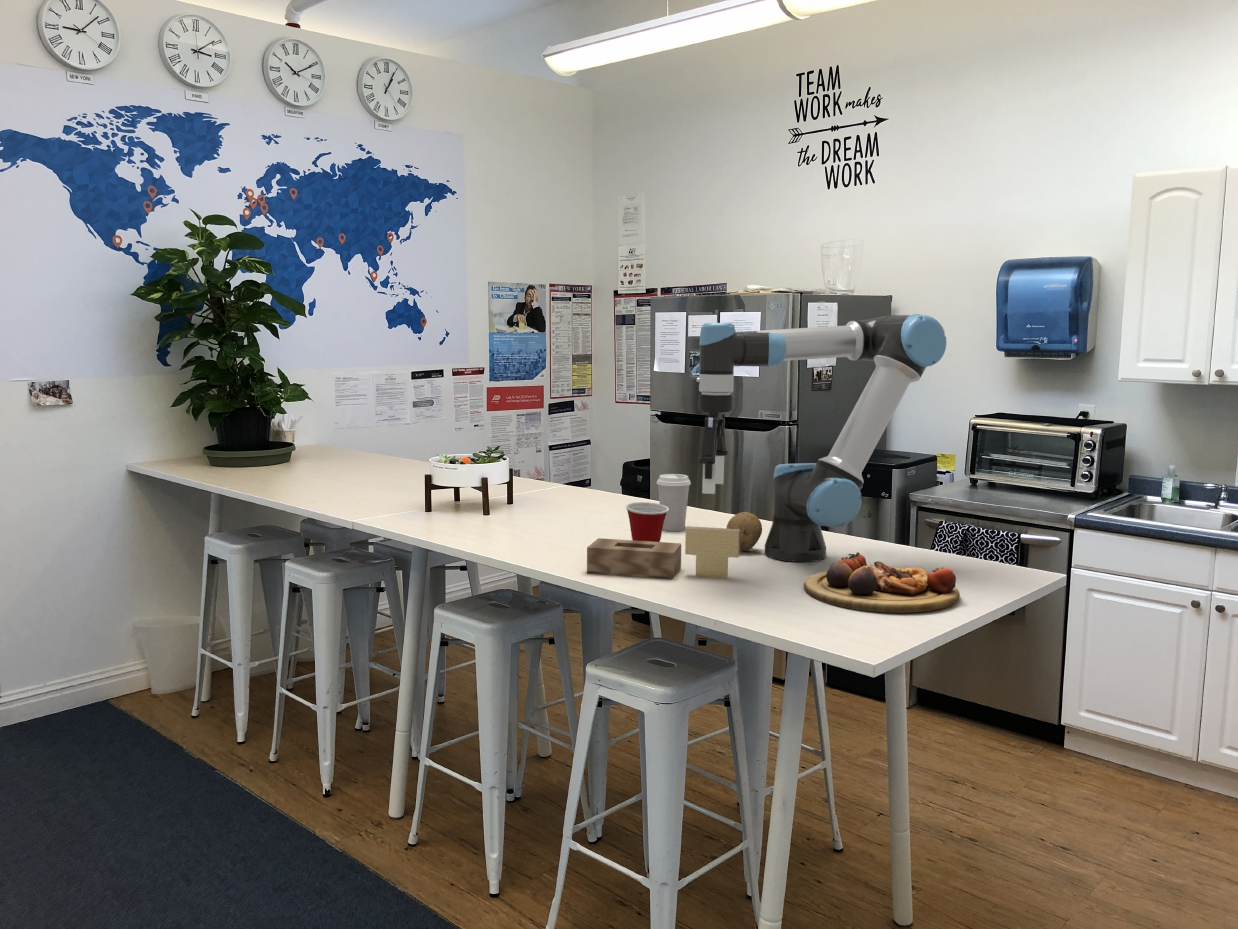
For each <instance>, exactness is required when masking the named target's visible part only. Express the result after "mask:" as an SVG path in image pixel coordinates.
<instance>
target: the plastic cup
mask: <svg viewBox="0 0 1238 929" xmlns="http://www.w3.org/2000/svg"><path fill="white" fill-rule="evenodd" d="M625 509H626V511H627V515H628V520H629V525H630V526H629V529H630V533H631V534H630V535H631V540H635V541H651V542H661V539H662V534H663V530H662V529H663V524H664V520H665V516H666V514H667V512H668V511H669V508H668V507H667V506H664V505H661V504H660V503H657V502H649V501H646V502H645V501H637V502H631V503H630V502H629V503H626V504H625Z"/></svg>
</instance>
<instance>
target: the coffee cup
mask: <svg viewBox="0 0 1238 929" xmlns="http://www.w3.org/2000/svg"><path fill="white" fill-rule="evenodd" d="M656 485H657V487H658V499H659V500H658V501H659V503H658V504H661V505H664V506H667V507H668V508H669V511H668V512H667V514H666V516H665V520H664V524H663V529H662V531H664V532H683V531H685V530H686V519H687V508H688V499H689V490H690V485H692V483H691V480H690V478H689V475H687V474H682V473H681V474H679V473H665V474H660V475H659V477H658V479H657V480H656Z"/></svg>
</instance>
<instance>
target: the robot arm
mask: <svg viewBox="0 0 1238 929" xmlns="http://www.w3.org/2000/svg"><path fill="white" fill-rule="evenodd" d="M945 333H946V332H945V329H944V327H943V326H942V324H941V323H940V322H939V321H938V320H937V319H936V318H934V317H933V316H929V315H926V314H925V315H924V314H919V313H913V314H910V315H909V314H908V315H907V314H906V315H905V314H893V315H892V314H891V315H889V314H888V315H883V316H878V317H873V318H868V319H861V320H850V321H848V322H847V323H846V325H834V326H832V325H830V326H818V327H817V326H816V327H815V326H813V327H799V328H782V329H780V328H779V329H767V330H765V329H763V330H750V331H749V330H748V331H744V330H743V331H736V326H735V324H734V323H732V322H731V323H730V322H727V323H726V322H706V323H705V322H704V323H703V324H702V325H701V328H700V332H699V372H698V373H699V375H698V376H699V377H697V378H696V382H697V383H699V384H698V391H699V392H700V393H701V394H699V395H698V404H697V405H698V408H697V409H698V411H700V412H705V413H706V412H707V417H705V418H704V430H703V443H702V450H701V451H702V452H701V458H700V459H699V464H702V491H701V493H702V494H706V495H707V494H710V495H715V494H716V485H724V483H725V481H724V479H725V456H728V453H729V451H728V450H727V447H726V429H725V424H726V420H725V418H726V414H725V413H730V412H732V411H733V403H734V402H733V401H734V399H733V398H734V397H733V395H732V394H731V393H733V392H734V376H735V375H734V369H735V367H766V368H769V367H778V366H779V367H780V365H782V363H783V362H784V361H785V362H786V361H787V362H788V361H800V360H801V361H802V360H815V359H816V360H818V359H834V358H847V359H848V360H850V361H869V362H874V364H875V368H874V370H873V372H872V374H871V376H870V377H869V379H868V382H867V383H866V385H865V387H864V389H863V391H862V392H861V394H860V396H859V398H858V400H857V402H856V403H855V405H854V407H853V409H852V410H851V413H850V415H849V416H848V418H847V420H846V422H845V424H844V425H843V427H842V430H841V432H840V433H839V435H838V437H837V439H836V441H835V442H834V444H833V446H832V448H831V449H830V452H829V453H828V455H827V456H823V457H821V458H819V459H817V462H815V463H814V462H811V463H810V462H808V463H805V462H803V463H802V462H801V463H799V462H798V463H784V464H783V463H780V464H778V465H776V466H775V468H774V472H773V477H772V480H773V487H772V488H773V489H772V490H773V494H772V523H771V526H770V528H769V529H770V530H769V532H768V534H767V538H766V540H765V543H764V549H763V550H764V551H763V552H764V555H765V556H766V557H768V558H771V559H774V560H779V561H785V562H798V563H799V562H800V563H802V562H803V563H805V562H807V563H808V562H816V561H820V560H824V559H826V557H827V545H826V542H825V538H824V534H823V531H822V528H821V527H828V528H840V527H843V526H846V525H848V524H849V523H851V522H852V521H853V520H854V519H855V518H856V517H857V515H858V514H859V512H860V510H861V506H862V503H863V502H862V500H863V499H862V497H861V496H862V492H861V488H862V487H863V485H864V478H863V474H862V472H864V469H865V467H866V465H867V464H868V462H869V460H870V458H871V456H872V454H873V453H874V450H875V448H876V446H877V445H878V443H879V441H880V439H881V438H882V436H883V434H884V432H885V430H886V428H887V427H888V425H889V422H890V421H891V419H892V417H893V415H894V414H895V411H896V410H897V408H898V406H899V404H900V403H901V400H902V399H903V397H904V396H905V393H906V391H907V389H908V387H909V386H910V384H911V383H915V382H919V381H920V380H921V378H922V375H923V374H924V372H925V370H926V368H928V367H932V366H934V365H936V364H937V363H939V362H940V361H941V360H942V358H943V357H944V355H945V352H946V351H947V350H946V348H947V337H946V334H945Z"/></svg>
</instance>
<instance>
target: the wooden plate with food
mask: <svg viewBox="0 0 1238 929" xmlns="http://www.w3.org/2000/svg"><path fill="white" fill-rule="evenodd" d="M848 556H849V557H847V556H845V557H841V558H840V559H838V560H837V561H835V562H833V563H832V564H831V565H830V566H829V567H828V569H827V570H824V571H820V572H816V573H814V574H812V575H809V576H808V577H807V578H806V579H805V581H804V582H803V583H804V584H803V588H804V590H805V593H806V594H808V595H809V596H810V597H812V598H814V599H816V600H817V601H820V602H822V603H825V604H827V605H832V606H836V607H840V608H845V609H846V608H847V609H850V610H851V609H852V610H858V611H866V612H873V613H874V612H875V613H890V614H891V613H895V614H896V613H898V614H899V613H901V614H903V613H906V614H907V613H924V612H933V611H938V610H942V609H945V608H949V607H950V606H953V605H955V604H956V603H957V602H958V601H959V599H960V590H959V589H958V587H957V586H956V582H957V579H956V578H957V576H956V574H955V573H954V571H953V570H952V569H951V568H947V567H941V568H938V567H937V568H935V569H933V570H932V572H928V571H927V570H926V569H924V568H921V567H918V566H917V567H906V568H903V567H901V568H899V567H895V566H891V565H886V564H885V563H883V562H881V561H880V560H879V561H874V562H873V564H870V565H868V564H867V560H866V558H865V556H864V555H862V554H861V553H860V552H856V554H853V553H849V554H848Z"/></svg>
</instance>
